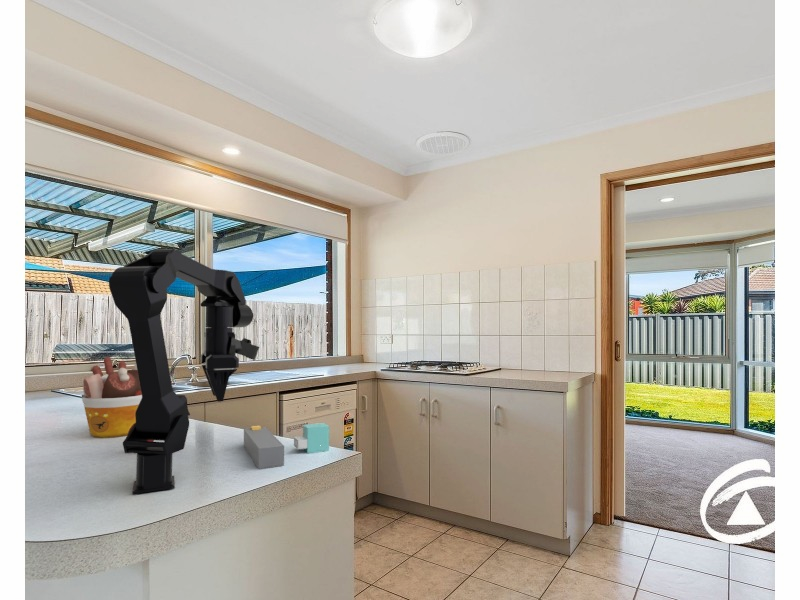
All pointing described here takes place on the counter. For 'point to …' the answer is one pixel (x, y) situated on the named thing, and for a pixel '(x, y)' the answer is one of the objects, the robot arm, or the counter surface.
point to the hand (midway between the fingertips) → (218, 398)
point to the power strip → (263, 447)
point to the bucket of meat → (111, 399)
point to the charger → (313, 438)
